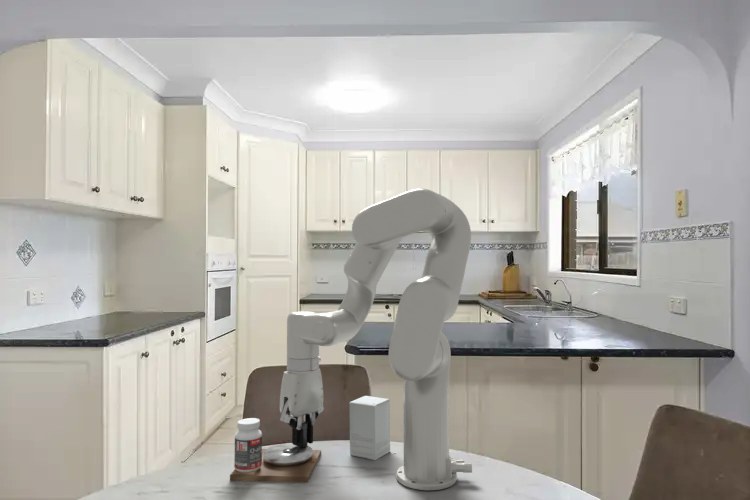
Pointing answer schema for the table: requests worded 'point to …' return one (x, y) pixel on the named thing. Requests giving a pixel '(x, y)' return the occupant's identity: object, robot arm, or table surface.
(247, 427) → the pill bottle
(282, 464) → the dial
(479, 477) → the table surface
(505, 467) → the table surface
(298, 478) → the dial board
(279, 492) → the table surface
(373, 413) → the supplement box
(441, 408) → the robot arm
